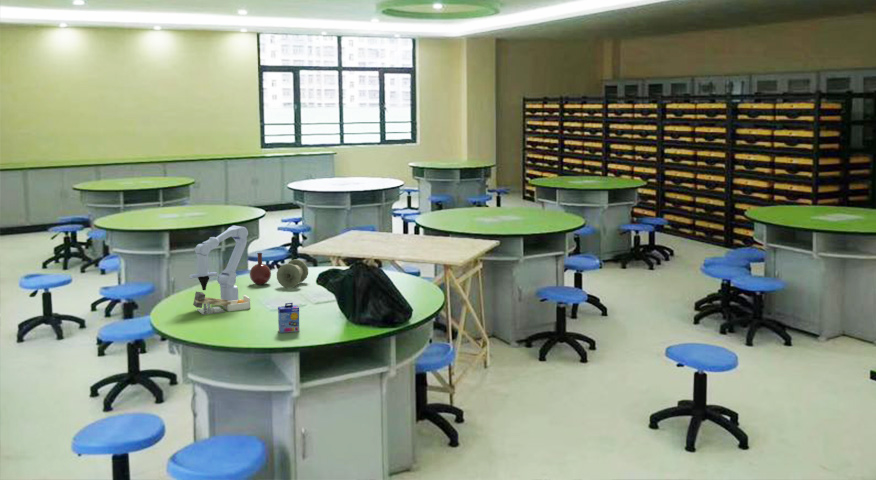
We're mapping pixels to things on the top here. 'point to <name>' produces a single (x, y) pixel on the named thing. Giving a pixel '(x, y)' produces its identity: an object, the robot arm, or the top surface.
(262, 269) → the round-bottom flask
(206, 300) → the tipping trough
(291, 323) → the ink cartridge box
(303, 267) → the spool
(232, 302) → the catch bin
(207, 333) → the top surface
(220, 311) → the lever stand
